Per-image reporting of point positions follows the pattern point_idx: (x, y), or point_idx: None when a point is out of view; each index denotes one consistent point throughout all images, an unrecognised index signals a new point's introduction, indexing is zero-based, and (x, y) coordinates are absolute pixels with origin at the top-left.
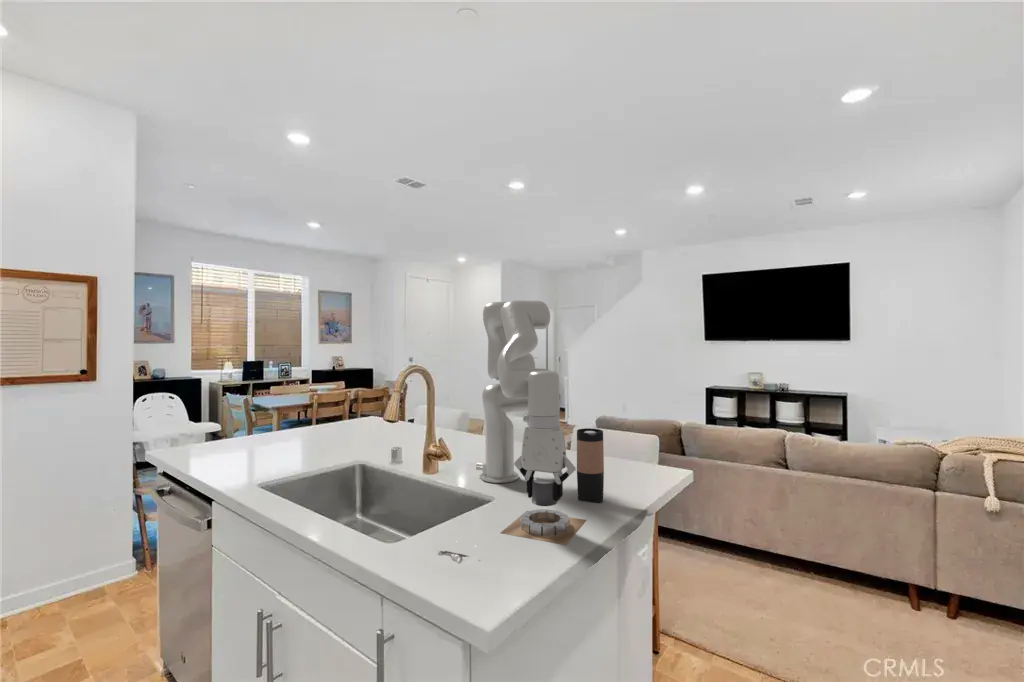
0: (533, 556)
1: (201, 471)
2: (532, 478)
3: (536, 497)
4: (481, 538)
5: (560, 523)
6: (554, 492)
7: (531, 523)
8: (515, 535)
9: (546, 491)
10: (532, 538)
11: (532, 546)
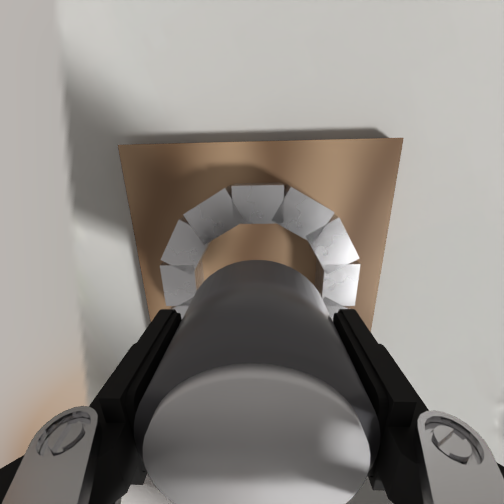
0: (207, 33)
1: None
2: (387, 462)
3: (282, 282)
4: (467, 103)
5: (177, 257)
6: (156, 344)
7: (286, 207)
8: (331, 141)
9: (199, 319)
10: (256, 144)
11: (248, 125)
